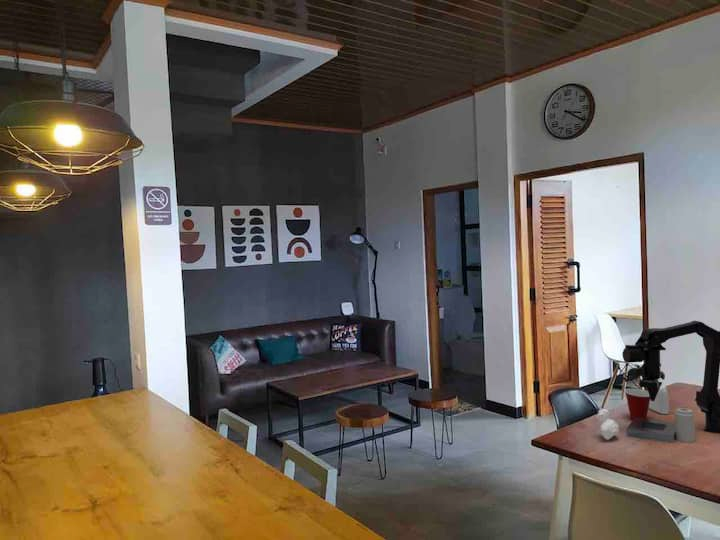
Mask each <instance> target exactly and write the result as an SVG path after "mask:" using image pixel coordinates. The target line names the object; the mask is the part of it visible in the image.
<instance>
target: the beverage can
mask: <svg viewBox="0 0 720 540" xmlns="http://www.w3.org/2000/svg"><path fill="white" fill-rule="evenodd" d="M674 423H675V436H676V439H675V441H678V442H683V443H694V442H696V440H695V439H696V433H695V431H696V428H695V427H696V425H695V413H694V410H693V409H691V408H687V407H686V408H685V407H678V408H676V409H675V412H674Z"/></svg>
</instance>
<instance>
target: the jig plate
mask: <svg viewBox="0 0 720 540" xmlns="http://www.w3.org/2000/svg"><path fill="white" fill-rule="evenodd" d="M626 437H631V438H637V439H645V440H649V441H650V440H651V441H657V442H663V443H671V444H672V443H675V441H676V436H675V422H671V421H665V420H657V419H648V418H646V419H644V418H637V417H635V418H634V419H633V420H631V422H630V423H629V425H628V426H627V427H626Z"/></svg>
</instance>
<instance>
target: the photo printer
mask: <svg viewBox="0 0 720 540" xmlns="http://www.w3.org/2000/svg"><path fill="white" fill-rule="evenodd" d="M669 399H670V398H669V390H668V388H667V387H666V386H665V385H663V384H662V385H661V387H660V389H659V391H658V394H657V396H656V398H655V400H654V401H651V399H650V402H649V407H648V409H650V410H652V411H654V412H656V413H659V414H662V415H668V414H669V413H670V407H669V406H670V405H669V403H670V401H669Z"/></svg>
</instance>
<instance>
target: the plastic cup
mask: <svg viewBox="0 0 720 540" xmlns="http://www.w3.org/2000/svg"><path fill="white" fill-rule="evenodd" d="M624 393H625V396H626V400H627V407H628V411H629V417H630V419H631V421H633V419H634V418H635V417H637V418H644V419H648V418H647V417H648V416H647V415H648V412H649V402H650V396H649V392H648V390H646V389H645V390H644V389H641V388H625V389H624Z"/></svg>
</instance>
